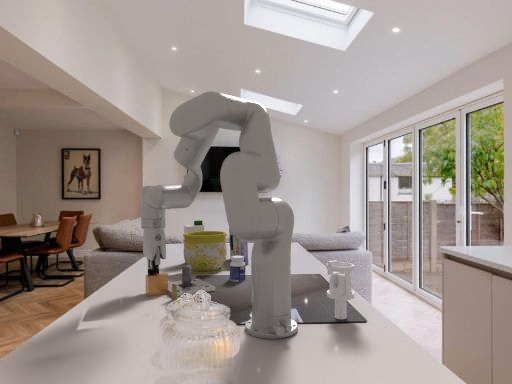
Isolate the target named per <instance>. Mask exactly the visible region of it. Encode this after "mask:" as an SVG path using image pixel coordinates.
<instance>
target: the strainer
mask: <svg viewBox="0 0 512 384" xmlns="http://www.w3.org/2000/svg"><path fill="white" fill-rule="evenodd" d="M326 269H327V276H329V289H328V290H326V297H327V298H329V299H332V300H334V318H335V319H337V320H346V319H347V318H348V317H347V313H348V311H347V307H348V306H347V301H350V300H351V301H352V300H354V299H355V291H353V290H352V274H351V272H352V271H355V264H353V263H350V262H344V261H343V262H342V261H339V260H336V259H333V260H327V263H326Z"/></svg>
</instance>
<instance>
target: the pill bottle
mask: <svg viewBox="0 0 512 384" xmlns="http://www.w3.org/2000/svg"><path fill="white" fill-rule="evenodd" d="M230 260H231V262H229V281H230V282H235V283H238V282H244V281H246V264H245V263H244V262H243V260H244V256H231V259H230Z"/></svg>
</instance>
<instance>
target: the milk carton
mask: <svg viewBox="0 0 512 384" xmlns="http://www.w3.org/2000/svg"><path fill="white" fill-rule="evenodd" d="M196 231H205V225H204V224H203V220H194V221H193V224H188V225H187V224H184V225H183V234H184V233H187V232H196ZM184 240H185V237H184V236H183V245H184V244H185V242H184ZM184 263H185V264H186V262H185V261H184Z"/></svg>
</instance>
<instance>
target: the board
mask: <svg viewBox="0 0 512 384" xmlns="http://www.w3.org/2000/svg"><path fill="white" fill-rule="evenodd" d="M191 279H192V274H191V266H190V265H187V264H186V265H182V266H181V281H182V288H187V287H191ZM171 300H172V301H177V300H178V297H177V284H172V296H171Z"/></svg>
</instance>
